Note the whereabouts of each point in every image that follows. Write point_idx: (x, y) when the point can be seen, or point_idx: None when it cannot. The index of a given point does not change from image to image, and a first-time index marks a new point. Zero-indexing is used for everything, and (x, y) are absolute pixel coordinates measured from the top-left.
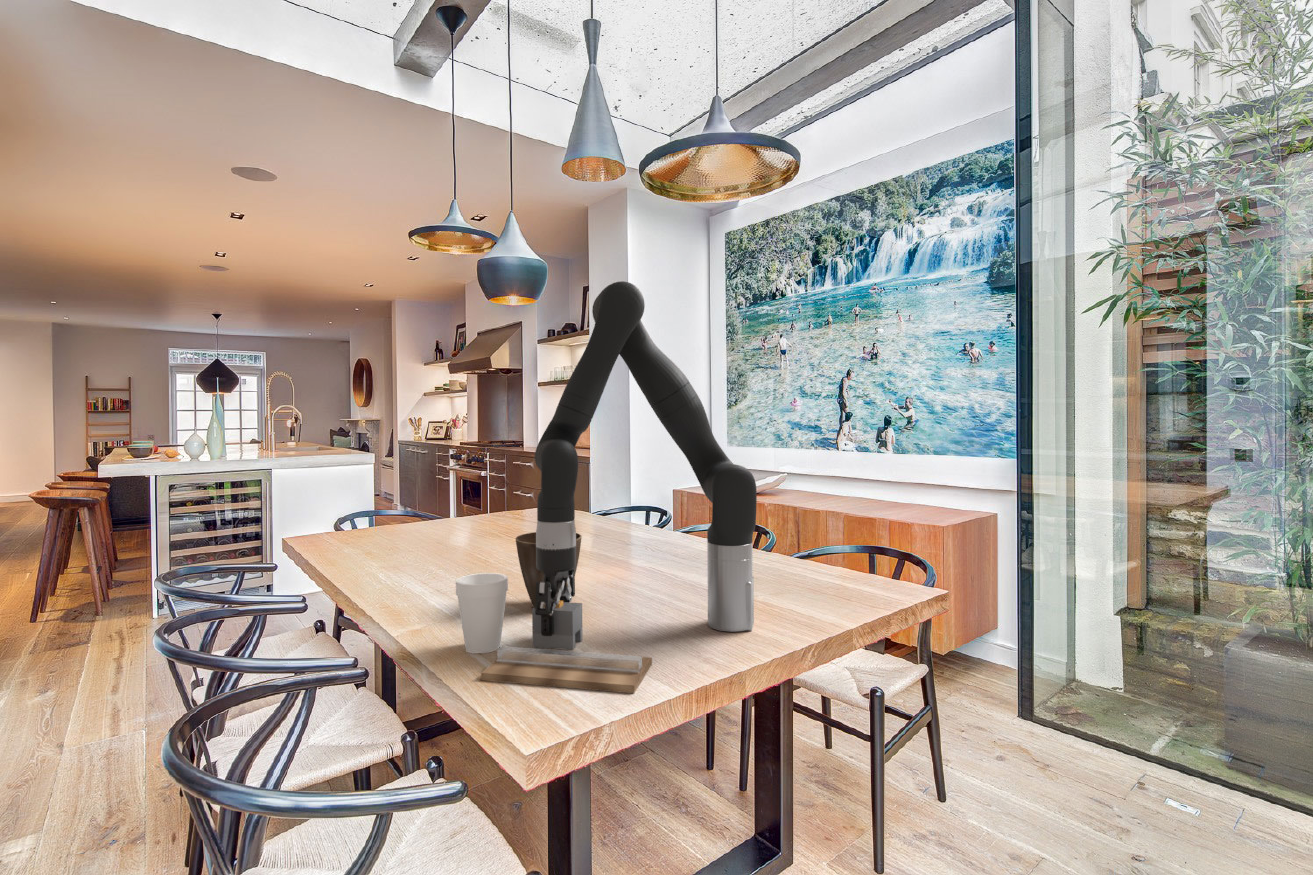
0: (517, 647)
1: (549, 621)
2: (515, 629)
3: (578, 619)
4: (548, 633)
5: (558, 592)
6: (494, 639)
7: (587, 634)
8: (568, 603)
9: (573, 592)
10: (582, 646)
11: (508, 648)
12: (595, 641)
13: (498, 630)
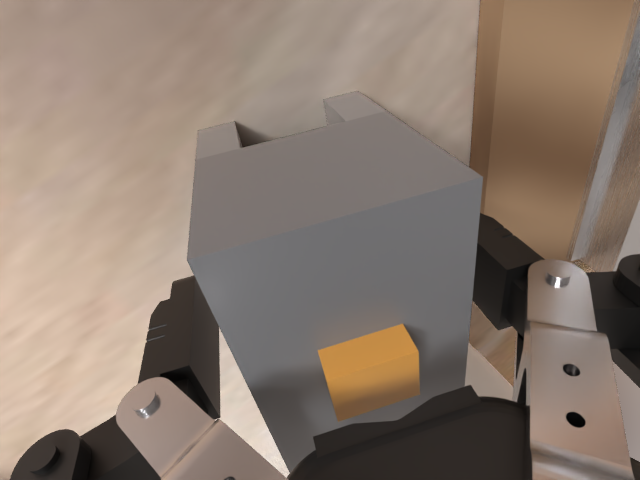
0: (629, 227)
1: (521, 252)
2: (238, 418)
3: (290, 168)
4: (481, 216)
5: (619, 423)
6: (472, 363)
7: (97, 159)
8: (265, 344)
9: (55, 472)
10: (293, 67)
11: (637, 248)
12: (175, 33)
13: (475, 387)
